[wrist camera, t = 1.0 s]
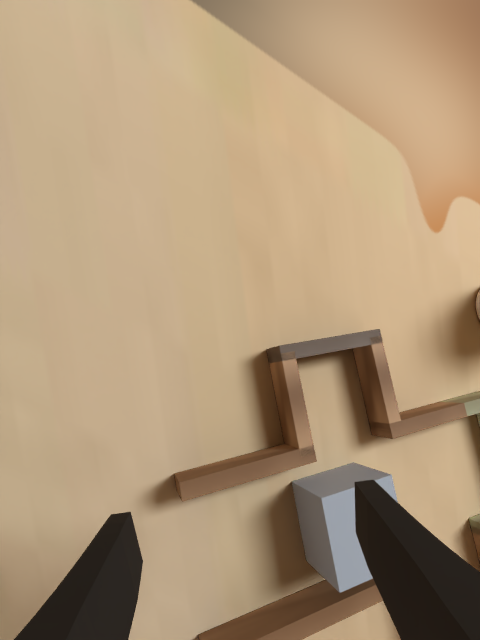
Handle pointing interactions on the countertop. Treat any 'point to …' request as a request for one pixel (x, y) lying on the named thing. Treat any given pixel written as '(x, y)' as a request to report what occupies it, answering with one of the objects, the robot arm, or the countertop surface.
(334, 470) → the block
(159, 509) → the countertop surface
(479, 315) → the supplement bottle
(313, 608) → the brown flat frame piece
